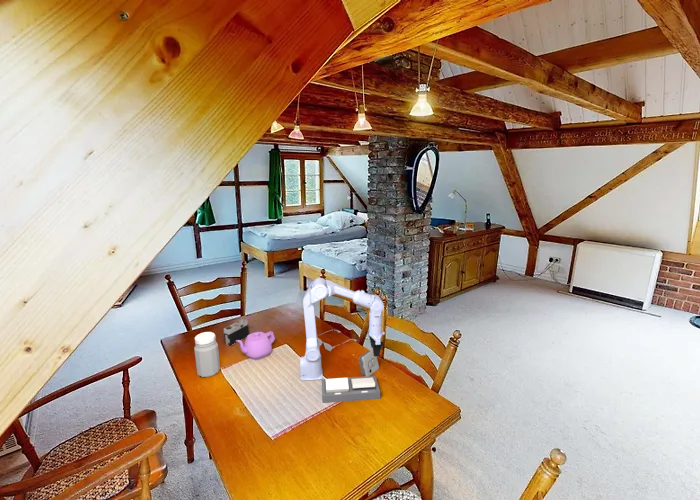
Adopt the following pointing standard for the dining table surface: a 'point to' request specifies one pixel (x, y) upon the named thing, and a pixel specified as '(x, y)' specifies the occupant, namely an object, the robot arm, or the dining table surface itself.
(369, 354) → the electrical switch
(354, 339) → the eyeglasses
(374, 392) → the switch box
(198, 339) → the jar
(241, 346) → the teapot
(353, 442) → the dining table surface
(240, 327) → the camera
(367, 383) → the right paddle
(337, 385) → the left paddle
